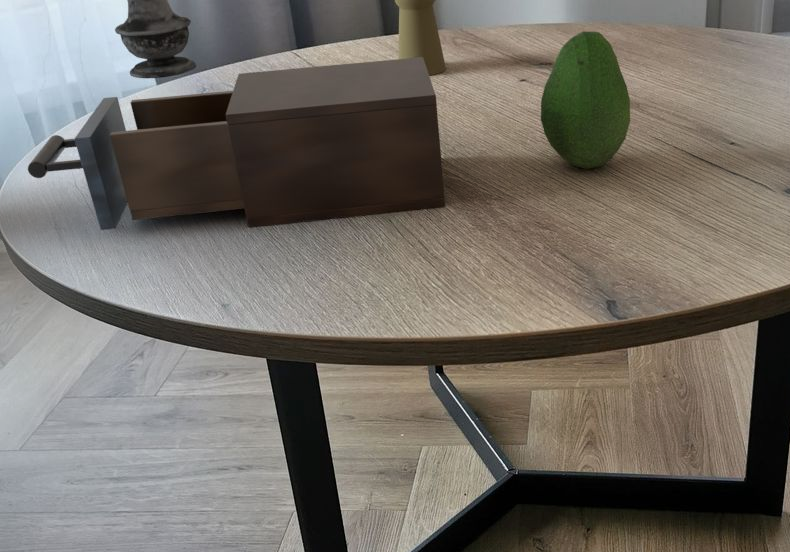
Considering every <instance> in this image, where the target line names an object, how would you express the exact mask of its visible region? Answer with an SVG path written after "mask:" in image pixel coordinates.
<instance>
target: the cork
mask: <svg viewBox="0 0 790 552" xmlns="http://www.w3.org/2000/svg"><path fill="white" fill-rule="evenodd" d="M394 2H395V4H396V6H397V7H398V8H399V9H398V10H399V11H398V12H399V13H398V56H397V59H407V58H418V57H423V59H424V62H425V65H426V68H427V71H428V74H429V77H431V76H434V75H438V74H442V73H443V72H445V71H446V70H447V67H446V62H445V57H444V53H443V52H444V51H443V47H442V43H441V38H440V34H439V29H438V24H437V19H436V13H435V9H434V4H435V2H436V0H394Z"/></svg>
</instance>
